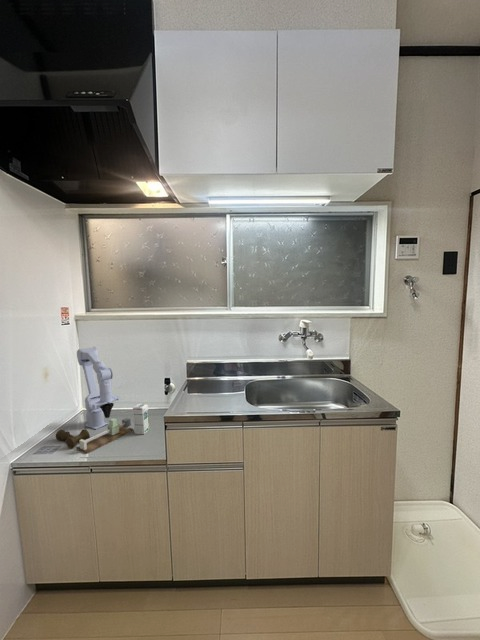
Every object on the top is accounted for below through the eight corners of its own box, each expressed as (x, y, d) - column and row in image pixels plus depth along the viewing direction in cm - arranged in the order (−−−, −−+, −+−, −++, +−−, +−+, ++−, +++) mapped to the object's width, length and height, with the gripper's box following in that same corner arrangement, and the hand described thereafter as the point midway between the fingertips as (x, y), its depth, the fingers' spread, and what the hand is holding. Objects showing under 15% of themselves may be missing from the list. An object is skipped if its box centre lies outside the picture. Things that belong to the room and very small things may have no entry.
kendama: (68, 435, 166) (95, 442, 157) (51, 444, 157) (78, 452, 148) (67, 425, 165) (94, 430, 156) (49, 433, 156) (77, 440, 148)
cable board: (86, 453, 146) (86, 451, 146) (76, 449, 150) (76, 447, 150) (133, 430, 169) (133, 428, 169) (123, 427, 173) (123, 425, 173)
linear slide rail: (84, 450, 147) (83, 440, 147) (80, 448, 149) (79, 438, 149) (131, 427, 170) (130, 419, 170) (126, 426, 172) (126, 417, 172)
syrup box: (144, 434, 164) (143, 407, 163) (134, 433, 165) (132, 407, 164) (149, 429, 170) (148, 403, 168) (139, 428, 171) (138, 403, 169)
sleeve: (112, 435, 160) (111, 421, 160) (108, 433, 162) (107, 420, 161) (119, 432, 164) (118, 418, 163) (114, 430, 166) (113, 417, 165)
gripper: (97, 397, 154) (99, 424, 156) (122, 389, 167) (123, 413, 168) (89, 395, 158) (90, 421, 159) (113, 387, 170) (115, 411, 172)
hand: (107, 417), depth 164 cm, fingers closed
